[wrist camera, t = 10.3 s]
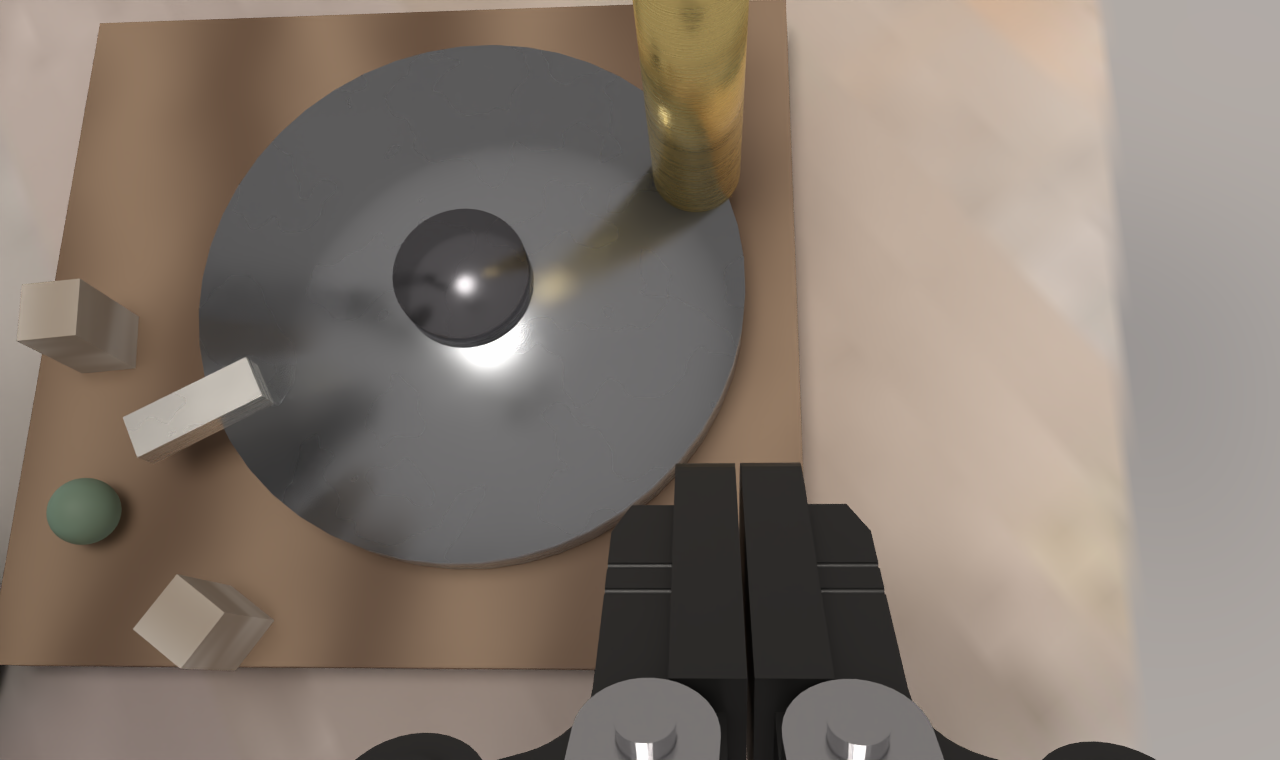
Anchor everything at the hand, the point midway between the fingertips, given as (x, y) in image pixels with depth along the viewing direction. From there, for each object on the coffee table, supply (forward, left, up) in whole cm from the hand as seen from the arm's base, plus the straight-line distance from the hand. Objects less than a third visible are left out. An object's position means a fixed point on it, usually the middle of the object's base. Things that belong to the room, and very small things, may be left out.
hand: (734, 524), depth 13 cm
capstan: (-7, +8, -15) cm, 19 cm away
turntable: (-9, +9, -17) cm, 21 cm away
